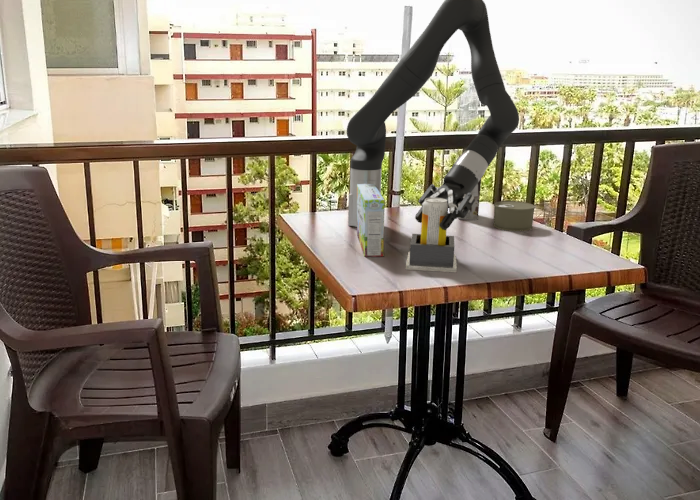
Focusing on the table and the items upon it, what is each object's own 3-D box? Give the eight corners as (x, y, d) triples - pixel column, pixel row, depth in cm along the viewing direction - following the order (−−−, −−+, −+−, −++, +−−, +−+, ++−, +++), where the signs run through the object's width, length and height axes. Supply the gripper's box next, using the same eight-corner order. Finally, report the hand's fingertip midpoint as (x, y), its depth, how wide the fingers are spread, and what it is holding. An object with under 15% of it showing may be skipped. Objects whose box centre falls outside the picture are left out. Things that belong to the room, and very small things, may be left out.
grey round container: (541, 230, 198) (543, 207, 196) (507, 233, 193) (509, 210, 191) (516, 221, 208) (518, 199, 207) (484, 223, 204) (486, 202, 202)
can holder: (405, 269, 158) (406, 245, 156) (408, 255, 169) (409, 232, 167) (456, 272, 156) (457, 248, 154) (455, 258, 167) (457, 235, 166)
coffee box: (478, 220, 208) (482, 169, 204) (458, 219, 208) (461, 169, 204) (473, 213, 217) (477, 164, 212) (454, 213, 217) (457, 164, 212)
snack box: (354, 235, 187) (356, 183, 183) (374, 235, 187) (376, 183, 183) (362, 257, 167) (364, 199, 162) (384, 257, 167) (387, 199, 163)
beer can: (443, 256, 165) (447, 197, 161) (444, 263, 159) (449, 203, 155) (419, 254, 165) (423, 196, 161) (419, 262, 160) (423, 202, 155)
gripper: (438, 159, 165) (402, 209, 162) (481, 167, 155) (443, 221, 151) (452, 178, 170) (417, 227, 167) (494, 187, 159) (458, 239, 156)
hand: (429, 224), depth 159 cm, fingers open, 8 cm apart
